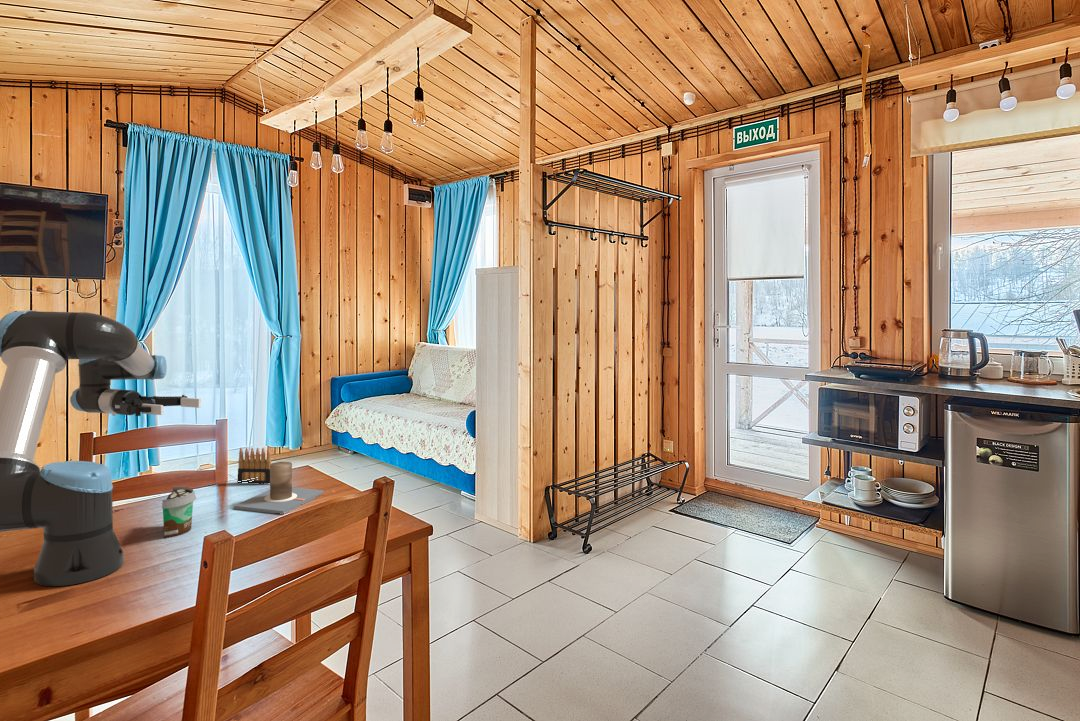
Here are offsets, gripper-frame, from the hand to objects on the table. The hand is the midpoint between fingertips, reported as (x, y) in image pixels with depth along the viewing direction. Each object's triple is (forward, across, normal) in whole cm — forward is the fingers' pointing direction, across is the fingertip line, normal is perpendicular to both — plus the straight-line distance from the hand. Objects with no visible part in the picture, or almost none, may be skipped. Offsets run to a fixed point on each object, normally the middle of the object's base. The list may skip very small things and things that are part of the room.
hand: (181, 406), depth 169 cm
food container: (+19, +20, -28) cm, 39 cm away
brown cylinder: (+28, -7, -27) cm, 39 cm away
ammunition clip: (+9, -20, -28) cm, 36 cm away
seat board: (+28, -7, -28) cm, 40 cm away
